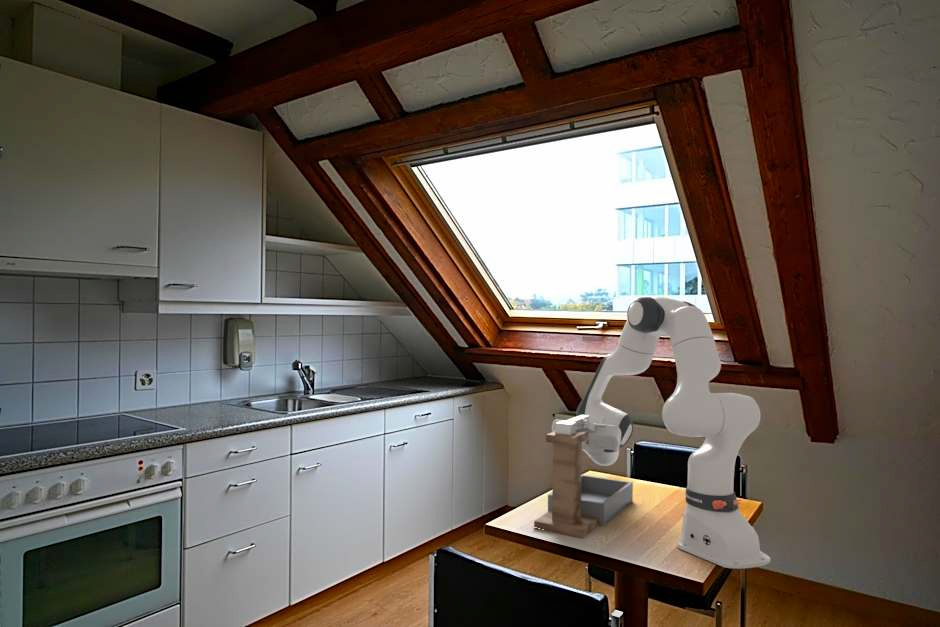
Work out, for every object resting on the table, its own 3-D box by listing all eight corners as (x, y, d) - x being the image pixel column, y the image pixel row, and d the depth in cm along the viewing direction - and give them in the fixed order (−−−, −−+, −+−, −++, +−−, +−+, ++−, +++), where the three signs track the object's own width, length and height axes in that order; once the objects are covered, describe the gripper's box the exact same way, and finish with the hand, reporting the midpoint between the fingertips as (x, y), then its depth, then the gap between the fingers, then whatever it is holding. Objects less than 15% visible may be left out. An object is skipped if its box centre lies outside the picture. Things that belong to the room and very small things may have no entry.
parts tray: (581, 492, 209) (581, 474, 208) (632, 501, 200) (632, 482, 200) (547, 515, 185) (548, 494, 185) (603, 525, 177) (604, 504, 177)
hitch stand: (551, 516, 184) (552, 427, 184) (598, 525, 177) (599, 432, 177) (534, 528, 174) (535, 433, 174) (582, 538, 167) (583, 439, 167)
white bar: (578, 424, 188) (578, 414, 188) (592, 426, 186) (592, 415, 186) (555, 433, 173) (555, 422, 173) (570, 435, 171) (570, 424, 171)
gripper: (562, 425, 199) (547, 408, 189) (626, 432, 188) (614, 414, 178) (558, 444, 196) (542, 428, 186) (623, 452, 186) (610, 435, 175)
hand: (578, 421), depth 182 cm, fingers closed on white bar, 2 cm apart
